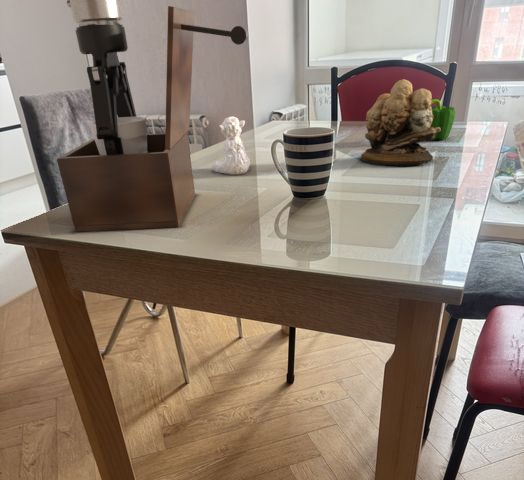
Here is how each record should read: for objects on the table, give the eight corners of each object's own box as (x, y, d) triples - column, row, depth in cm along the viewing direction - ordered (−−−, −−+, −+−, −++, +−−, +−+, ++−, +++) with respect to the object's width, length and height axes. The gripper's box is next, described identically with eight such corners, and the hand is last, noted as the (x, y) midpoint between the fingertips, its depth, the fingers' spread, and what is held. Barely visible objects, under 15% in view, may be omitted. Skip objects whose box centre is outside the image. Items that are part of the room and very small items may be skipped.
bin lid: (167, 5, 70) (245, 17, 70) (189, 11, 86) (251, 20, 87) (164, 149, 79) (232, 158, 80) (185, 129, 96) (240, 136, 97)
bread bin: (75, 231, 87) (56, 158, 81) (108, 199, 104) (94, 136, 98) (178, 227, 86) (167, 152, 80) (195, 195, 103) (187, 131, 97)
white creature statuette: (249, 165, 123) (245, 111, 117) (261, 172, 116) (258, 115, 110) (211, 170, 121) (206, 116, 115) (221, 178, 114) (216, 120, 108)
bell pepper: (449, 135, 142) (454, 96, 136) (454, 141, 135) (459, 99, 129) (418, 136, 143) (422, 97, 138) (421, 142, 136) (425, 101, 131)
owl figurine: (443, 157, 119) (454, 75, 110) (427, 169, 111) (438, 81, 102) (371, 153, 128) (375, 76, 119) (351, 163, 119) (354, 81, 110)
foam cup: (144, 204, 89) (130, 124, 82) (97, 204, 91) (79, 125, 84) (165, 190, 96) (154, 115, 90) (121, 190, 98) (107, 117, 92)
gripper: (97, 26, 89) (122, 160, 101) (48, 24, 70) (87, 188, 82) (139, 23, 88) (160, 158, 100) (101, 21, 70) (133, 186, 82)
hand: (127, 171), depth 91 cm, fingers closed on foam cup, 9 cm apart
